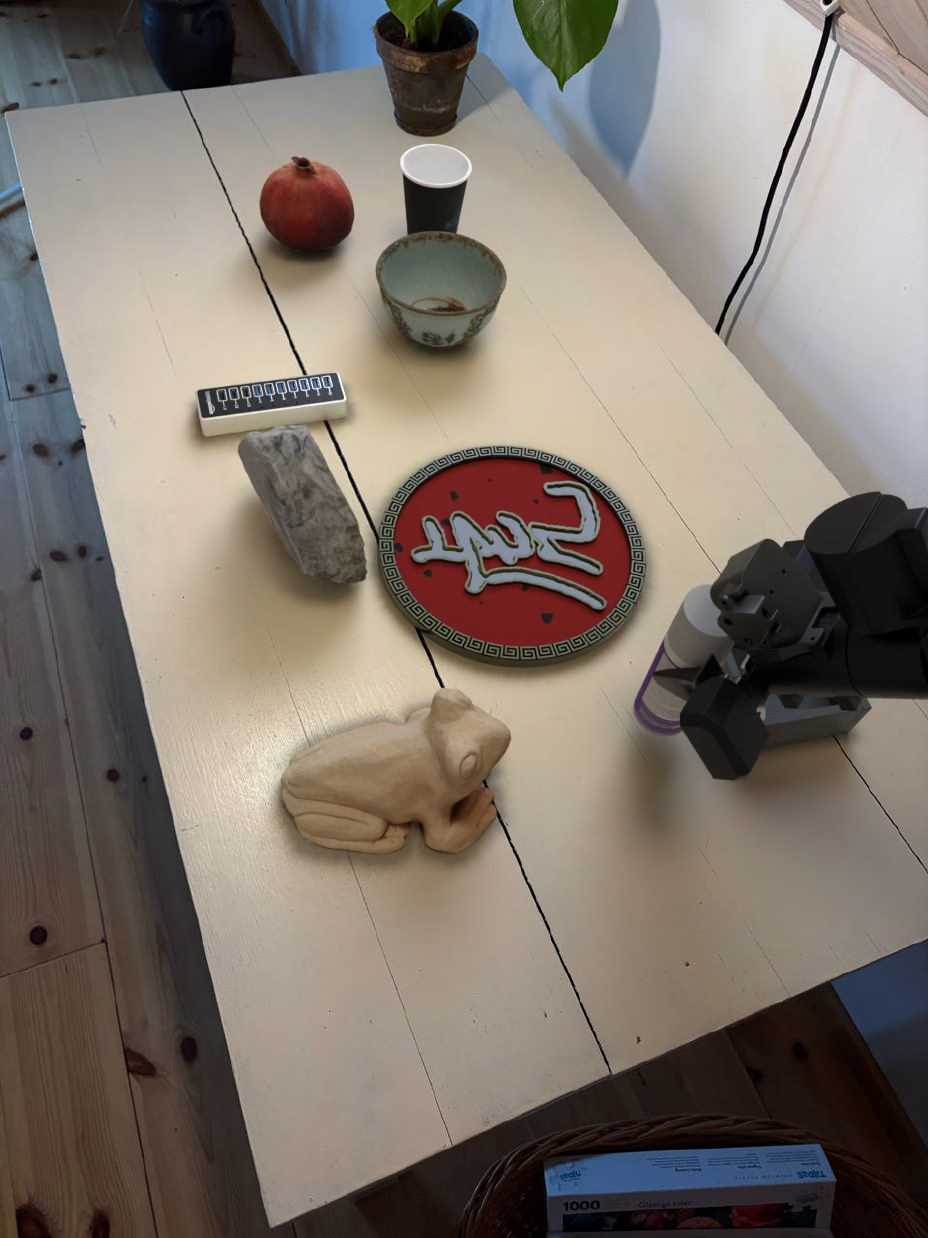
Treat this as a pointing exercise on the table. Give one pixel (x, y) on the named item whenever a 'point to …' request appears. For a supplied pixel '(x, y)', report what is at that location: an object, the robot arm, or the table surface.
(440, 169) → the dixie cup
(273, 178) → the fruit
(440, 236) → the bowl
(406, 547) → the decorative plate
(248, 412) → the multiport hub
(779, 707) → the storage bin
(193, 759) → the table surface
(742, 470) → the table surface
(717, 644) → the container
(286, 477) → the decorative rock
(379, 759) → the figurine
